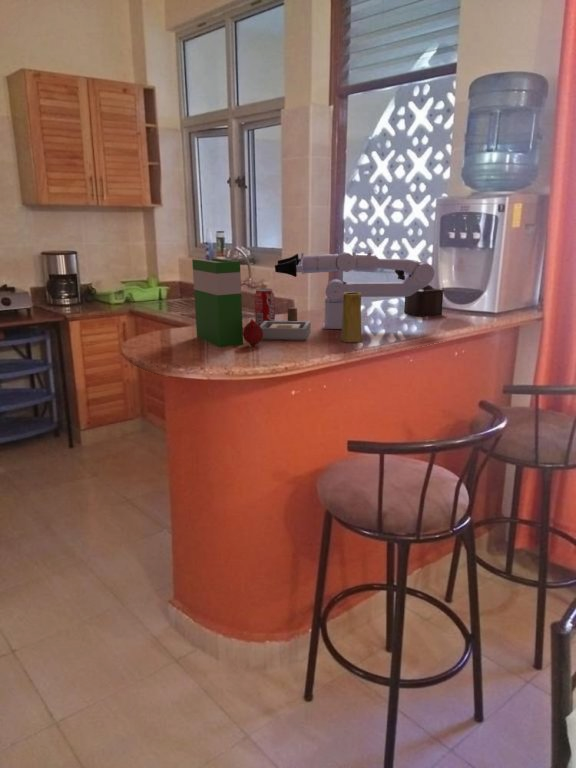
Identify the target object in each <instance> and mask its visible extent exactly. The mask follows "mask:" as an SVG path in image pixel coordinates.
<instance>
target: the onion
mask: <svg viewBox="0 0 576 768" xmlns="http://www.w3.org/2000/svg"><path fill="white" fill-rule="evenodd" d="M249 320H250V321H249V322H248V323H247V324H246V325H245V326H244V327H243V340H244V341H246V342H247V343H248V344H249V345H250V346H251V347H256V345H258V344H259V343H260V342H261V341H263V340H262V338H263V330H262V328H261V327H260V325H259V324H258V323H256V322H255V319H254V318H250V319H249Z"/></svg>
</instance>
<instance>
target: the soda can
mask: <svg viewBox="0 0 576 768" xmlns="http://www.w3.org/2000/svg"><path fill="white" fill-rule="evenodd" d="M253 297H254V298H253V299H254V301H253V302H254V321H255V322H256V323H258V324H260V325H261V324H262V323H263V322H264V321H276V319H275V318H276V304H275V303H276V302H275V300H276V299H275V294H274V292H273V289H272V288H257V289H255V292H254V296H253Z"/></svg>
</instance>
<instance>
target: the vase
mask: <svg viewBox="0 0 576 768" xmlns="http://www.w3.org/2000/svg"><path fill="white" fill-rule="evenodd" d="M340 341H341V342H342V341H343V342H342V343H345V342H358V343H361V342H362V341H363V340H362V297H361V293H359V292H345V293H343V317H342V329H341V337H340ZM360 341H361V342H360Z"/></svg>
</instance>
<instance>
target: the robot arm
mask: <svg viewBox="0 0 576 768" xmlns="http://www.w3.org/2000/svg"><path fill="white" fill-rule="evenodd" d="M300 254H301V255H300V257H299V253H296V254H294V255H293V256H290V257H286V258H283V259H279V260H277V264H275V265H274V270H275V271H274V272H275V273H279V274H286V275H289V276H292V277H295V278H296V277H298V274H297V273H301V274H302V275H305V274H316V273H332V272H336V271H341V272H345V273H349V272H350V271H352V270H353V272H360V273H364V272H366V273H375V272H376V271H377V270H378V269H381V270H382V269H383V270H394V271H395V270H403V271H404V273H405V274H408V275H407V276H405V278H406V279H405V280H402V281H375V282H374V281H373V282H372V281H371V282H367V281H366V282H365V281H364V282H363V281H362V282H357V281H356V282H355V281H354V282H353V281H344V280H341V279H339V278H333V279H331V280H329V282H328V283H327V285H326V288H325V295H326V298H325V299H324V323H323V326H322V329H325V330H334V329H335V330H336V329H337V330H342V317H343V293H345V292H359V293H361V298H368V297H370V298H371V297H373V298H377V297H379V298H380V297H382V298H383V297H385V298H388V297H389V298H390V297H392V298H394V297H399V298H400V297H402V298H403V297H404V298H405V297H407V296H411V295H412V294H414V293H416V292H417V291H419V290H420V289H422V288H424V287H426V286H428V285H430V283H431V282H432V281H433V280H434V277H435V269H434V267H433V265H431V264H429V263H427V262H426V261H419V260H414V259H407V258H379V257H378V256H377V254H373V252H372V251H368V252H367V253H356V251H352V254H351V253H349V252H346V251H343V252H341V253H339V254H338V253H333V254H332V253H326V254H311V255H310V254H309V255H305V253H304V251H301V253H300Z"/></svg>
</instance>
